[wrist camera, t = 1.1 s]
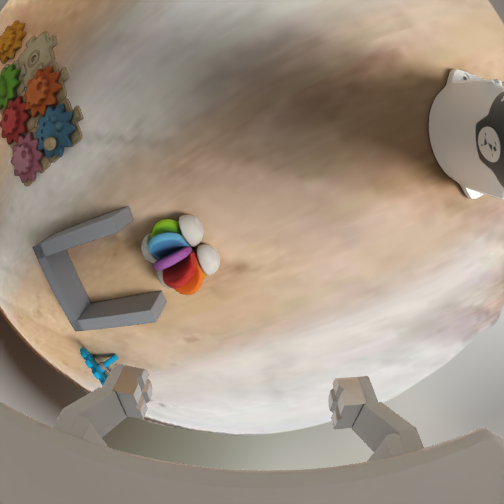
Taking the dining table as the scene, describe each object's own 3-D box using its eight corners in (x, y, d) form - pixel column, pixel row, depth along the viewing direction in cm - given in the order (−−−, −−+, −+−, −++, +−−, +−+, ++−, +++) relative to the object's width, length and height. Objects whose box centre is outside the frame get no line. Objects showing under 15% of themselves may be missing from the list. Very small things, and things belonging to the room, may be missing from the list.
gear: (72, 342, 44) (84, 371, 37) (95, 325, 47) (111, 352, 40) (103, 377, 50) (120, 407, 43) (123, 362, 53) (143, 389, 46)
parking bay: (128, 206, 35) (111, 217, 31) (166, 302, 41) (156, 322, 36) (51, 234, 37) (32, 247, 33) (88, 314, 43) (75, 331, 39)
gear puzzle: (-10, 54, 24) (-24, 53, 20) (47, -6, 21) (33, -12, 17) (28, 189, 35) (12, 196, 31) (93, 135, 32) (76, 137, 28)
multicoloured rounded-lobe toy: (175, 287, 40) (160, 317, 33) (140, 228, 37) (117, 250, 30) (228, 265, 38) (221, 295, 32) (193, 201, 35) (177, 218, 28)
